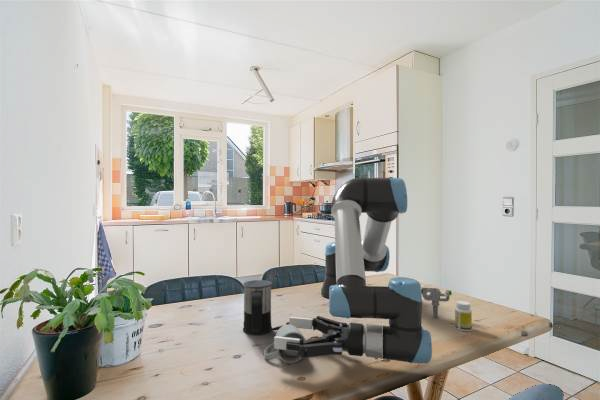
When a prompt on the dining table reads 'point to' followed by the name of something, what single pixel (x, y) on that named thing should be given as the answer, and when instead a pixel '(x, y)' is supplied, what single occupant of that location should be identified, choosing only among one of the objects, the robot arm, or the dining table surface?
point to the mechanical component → (435, 298)
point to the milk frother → (258, 307)
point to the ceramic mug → (285, 355)
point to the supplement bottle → (463, 316)
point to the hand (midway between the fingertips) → (282, 331)
